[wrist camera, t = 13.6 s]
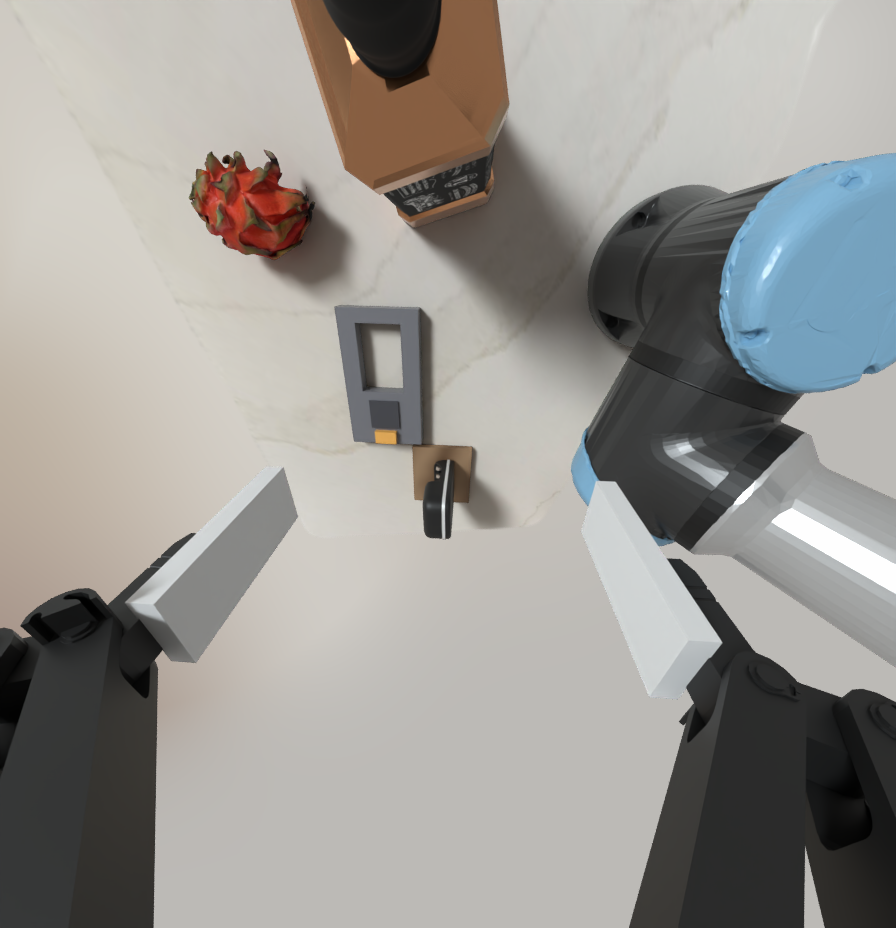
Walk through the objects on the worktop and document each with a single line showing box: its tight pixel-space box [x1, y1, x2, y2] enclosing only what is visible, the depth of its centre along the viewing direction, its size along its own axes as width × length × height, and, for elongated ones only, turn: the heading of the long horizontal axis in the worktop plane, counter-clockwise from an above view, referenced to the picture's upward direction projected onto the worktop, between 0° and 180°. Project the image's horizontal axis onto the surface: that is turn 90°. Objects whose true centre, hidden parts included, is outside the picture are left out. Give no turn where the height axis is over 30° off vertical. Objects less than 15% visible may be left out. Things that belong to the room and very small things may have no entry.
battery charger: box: [423, 459, 454, 540], centre depth 47 cm, size 7×4×11 cm, turn 0°
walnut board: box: [412, 444, 472, 503], centre depth 52 cm, size 9×10×1 cm
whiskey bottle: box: [291, 0, 509, 228], centre depth 19 cm, size 10×10×32 cm
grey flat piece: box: [335, 305, 423, 445], centre depth 44 cm, size 10×18×3 cm, turn 179°
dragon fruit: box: [189, 150, 315, 260], centre depth 33 cm, size 8×8×12 cm
